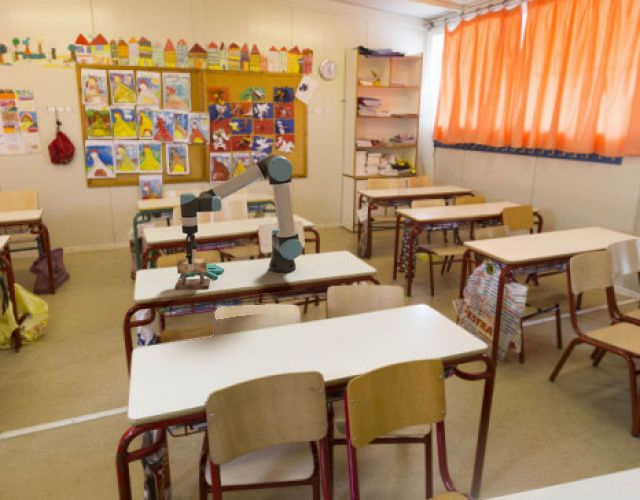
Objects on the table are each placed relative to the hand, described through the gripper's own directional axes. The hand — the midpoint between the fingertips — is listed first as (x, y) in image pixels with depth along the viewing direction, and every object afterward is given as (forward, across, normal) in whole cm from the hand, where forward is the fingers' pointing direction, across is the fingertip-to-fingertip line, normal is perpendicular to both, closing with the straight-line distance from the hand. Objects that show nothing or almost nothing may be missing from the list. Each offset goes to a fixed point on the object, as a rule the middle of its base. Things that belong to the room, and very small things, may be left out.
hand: (192, 265), depth 245 cm
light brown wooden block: (+2, 0, 0) cm, 2 cm away
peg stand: (+10, 0, 0) cm, 11 cm away
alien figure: (+11, -20, +4) cm, 23 cm away
